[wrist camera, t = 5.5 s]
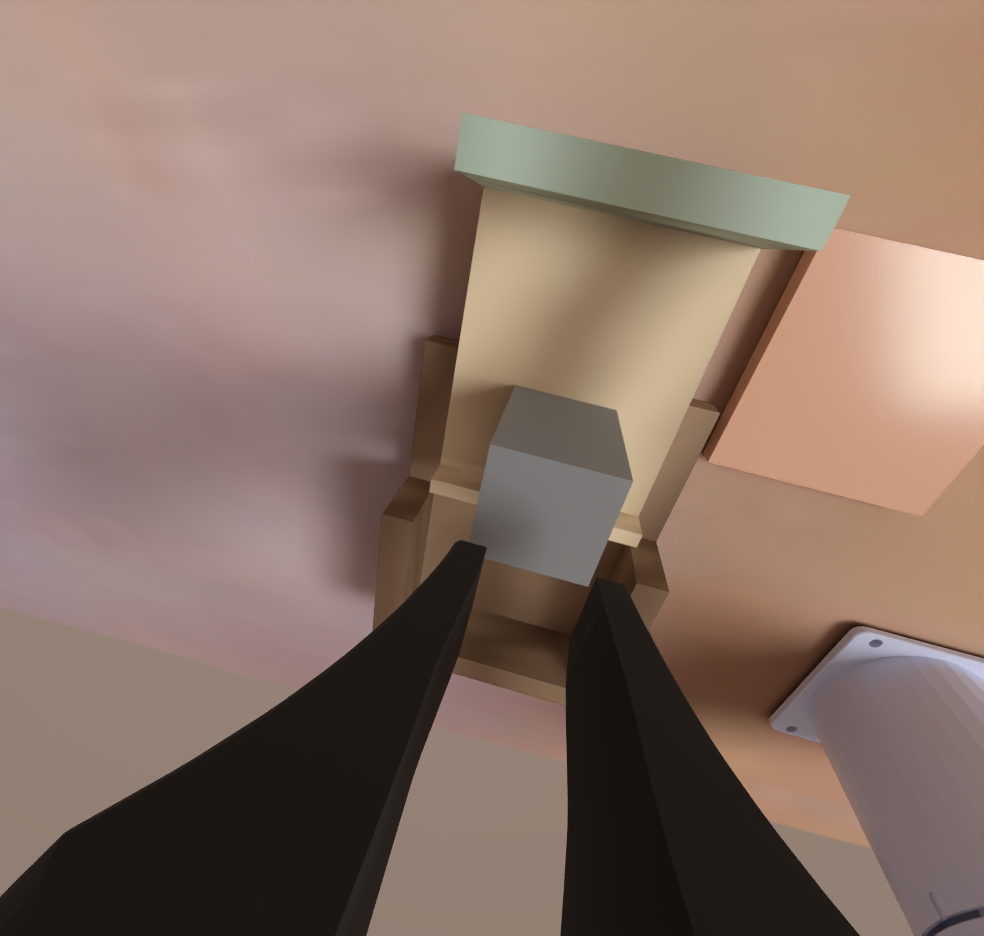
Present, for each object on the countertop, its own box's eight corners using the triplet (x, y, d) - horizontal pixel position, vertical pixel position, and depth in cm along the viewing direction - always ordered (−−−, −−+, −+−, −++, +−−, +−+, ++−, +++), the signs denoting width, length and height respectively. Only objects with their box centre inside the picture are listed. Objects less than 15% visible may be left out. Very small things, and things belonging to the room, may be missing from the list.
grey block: (616, 409, 15) (633, 481, 10) (585, 495, 16) (588, 586, 12) (515, 384, 15) (489, 444, 11) (495, 472, 17) (466, 553, 12)
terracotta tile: (1088, 287, 13) (1117, 290, 12) (907, 504, 17) (921, 516, 16) (815, 227, 13) (829, 227, 12) (702, 453, 17) (708, 462, 16)
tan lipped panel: (768, 209, 12) (850, 195, 8) (630, 517, 17) (644, 590, 14) (495, 149, 13) (461, 112, 9) (443, 467, 18) (409, 525, 14)
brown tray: (712, 403, 16) (749, 449, 13) (596, 643, 23) (599, 715, 19) (433, 335, 17) (395, 360, 13) (401, 588, 24) (371, 649, 20)
